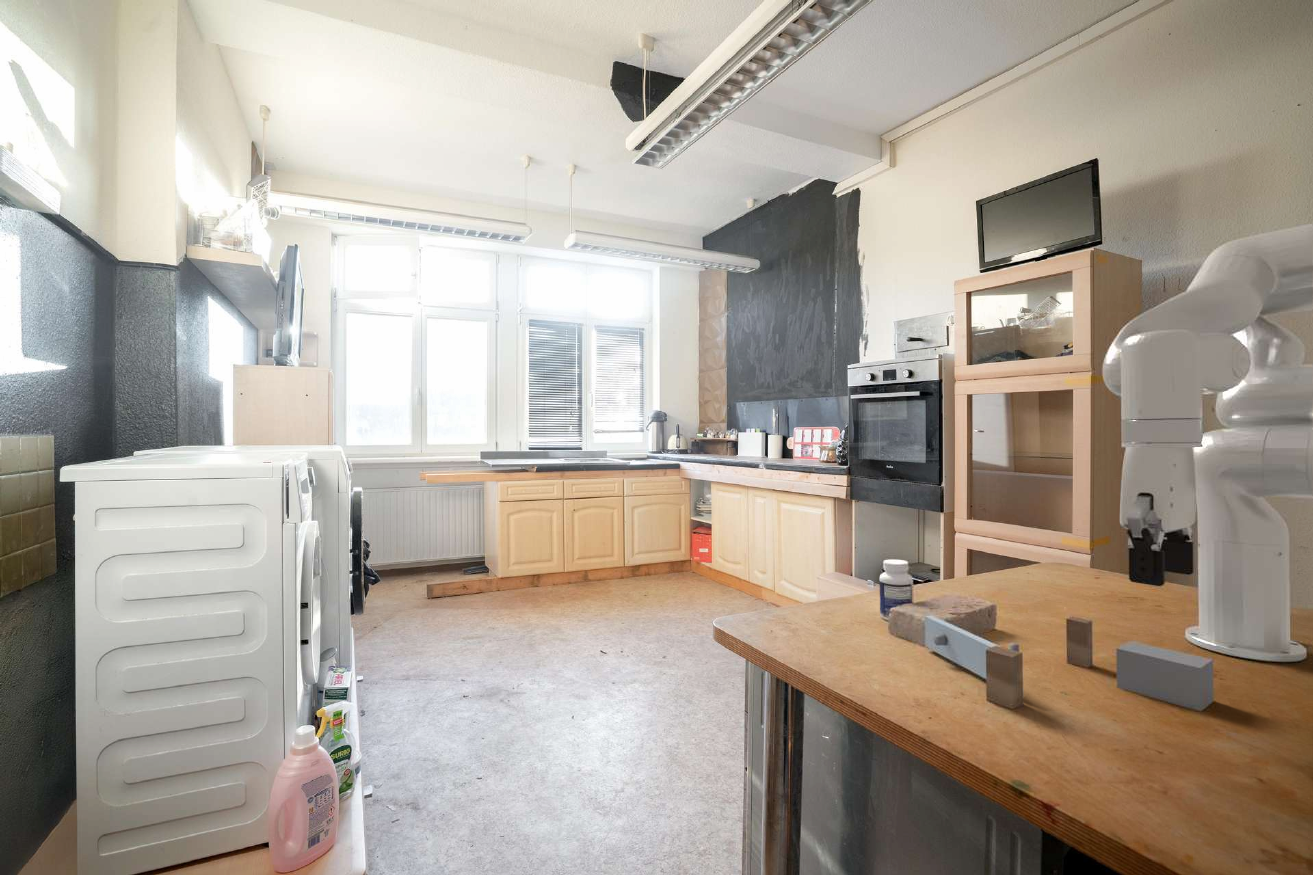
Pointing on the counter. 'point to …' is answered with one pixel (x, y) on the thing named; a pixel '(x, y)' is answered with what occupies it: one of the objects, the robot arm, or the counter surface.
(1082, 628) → the block
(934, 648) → the door
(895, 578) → the pill bottle
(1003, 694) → the brown wooden block
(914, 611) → the brick
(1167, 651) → the block
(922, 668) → the counter surface
